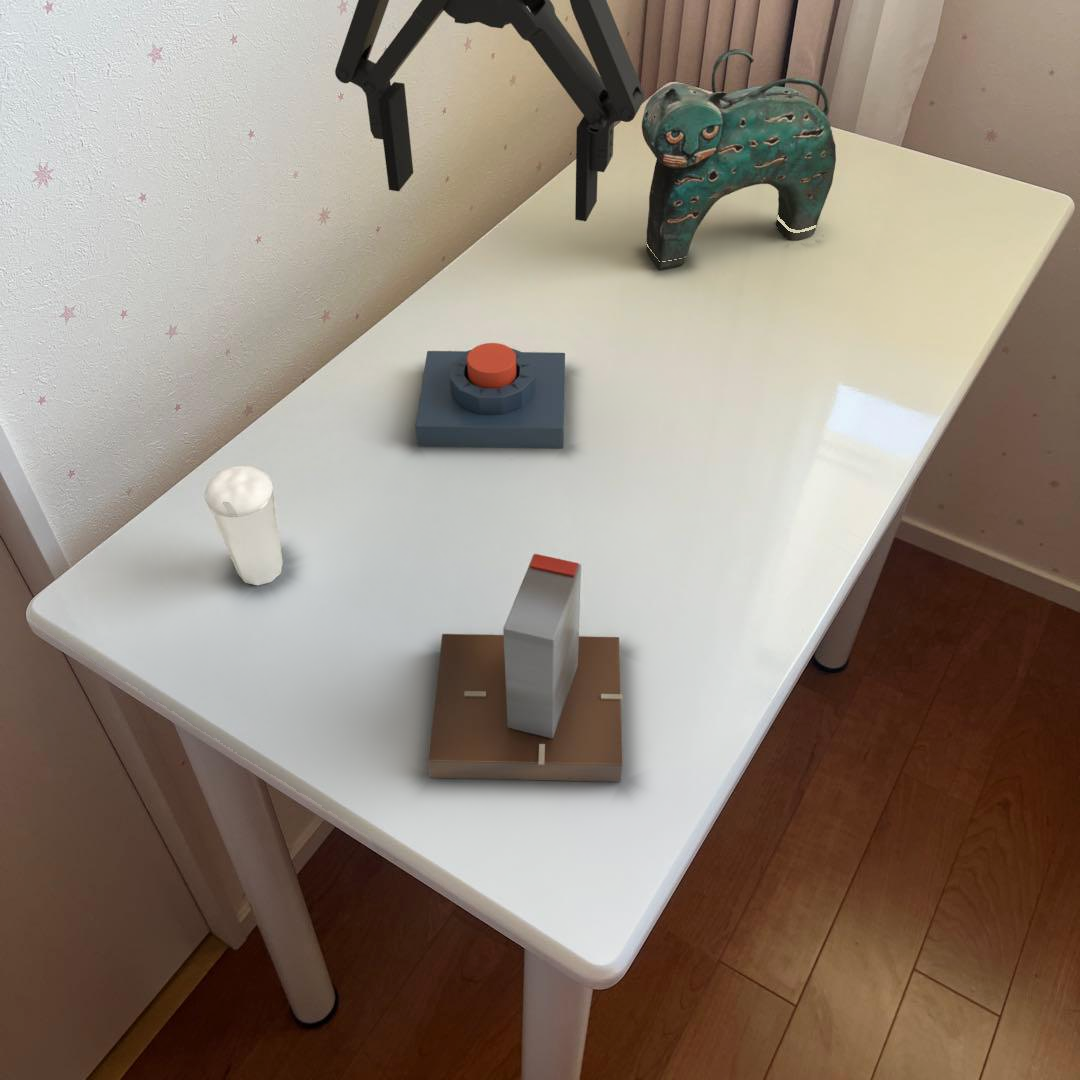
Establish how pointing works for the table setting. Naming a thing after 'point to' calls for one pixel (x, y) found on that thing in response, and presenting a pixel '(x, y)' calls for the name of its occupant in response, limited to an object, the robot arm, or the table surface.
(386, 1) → the robot arm
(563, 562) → the grey slab
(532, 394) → the button block
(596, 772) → the panel
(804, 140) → the ceramic cat
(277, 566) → the milkshake
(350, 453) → the table surface
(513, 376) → the button
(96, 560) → the table surface
